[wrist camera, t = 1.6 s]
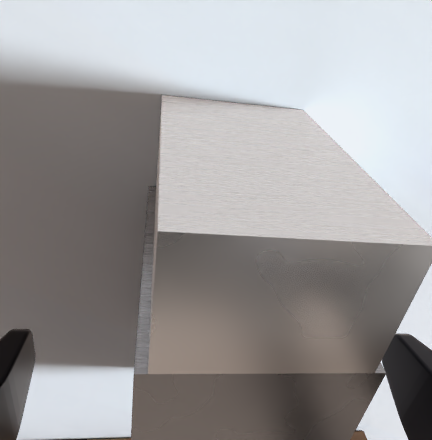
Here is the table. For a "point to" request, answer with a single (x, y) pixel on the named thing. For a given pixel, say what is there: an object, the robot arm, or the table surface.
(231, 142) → the block
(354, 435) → the shaft coupling stand
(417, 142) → the table surface
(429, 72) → the table surface
